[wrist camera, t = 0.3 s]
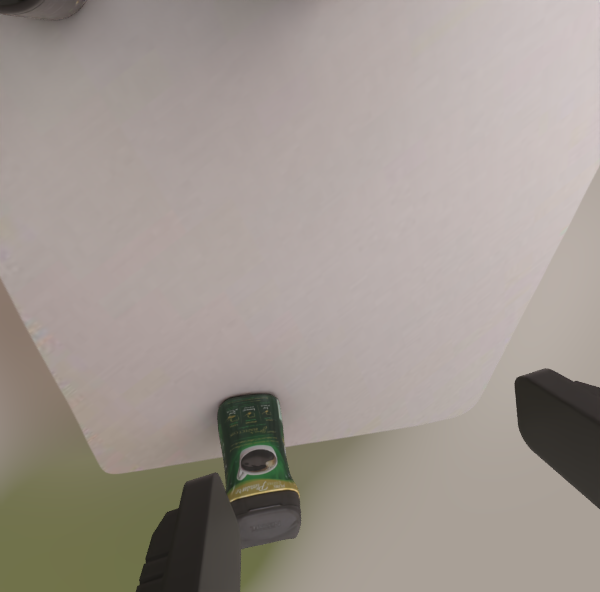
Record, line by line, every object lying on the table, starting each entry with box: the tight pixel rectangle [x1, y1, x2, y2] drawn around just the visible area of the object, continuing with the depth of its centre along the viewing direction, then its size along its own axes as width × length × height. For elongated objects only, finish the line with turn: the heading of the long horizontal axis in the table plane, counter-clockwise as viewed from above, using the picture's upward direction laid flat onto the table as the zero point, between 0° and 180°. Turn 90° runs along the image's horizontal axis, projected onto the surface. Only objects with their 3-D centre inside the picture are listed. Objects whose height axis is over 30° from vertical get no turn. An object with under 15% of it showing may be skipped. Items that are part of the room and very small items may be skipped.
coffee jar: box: [218, 394, 301, 549], centre depth 47 cm, size 10×8×19 cm
